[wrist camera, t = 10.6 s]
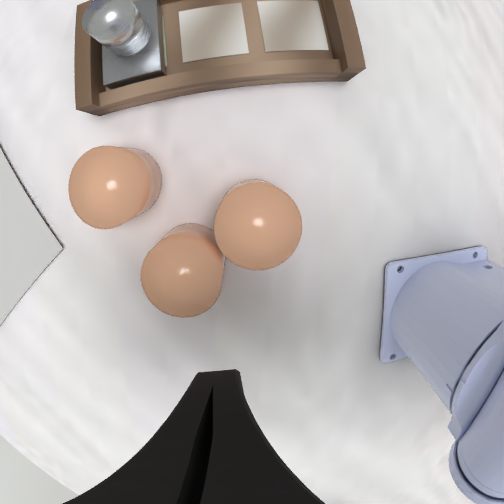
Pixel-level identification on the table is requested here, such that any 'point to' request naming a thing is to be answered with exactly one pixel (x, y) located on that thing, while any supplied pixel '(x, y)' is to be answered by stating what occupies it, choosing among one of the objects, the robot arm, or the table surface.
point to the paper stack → (20, 240)
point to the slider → (127, 39)
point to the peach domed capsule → (257, 225)
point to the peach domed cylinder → (113, 185)
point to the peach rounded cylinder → (184, 271)
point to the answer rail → (229, 49)
